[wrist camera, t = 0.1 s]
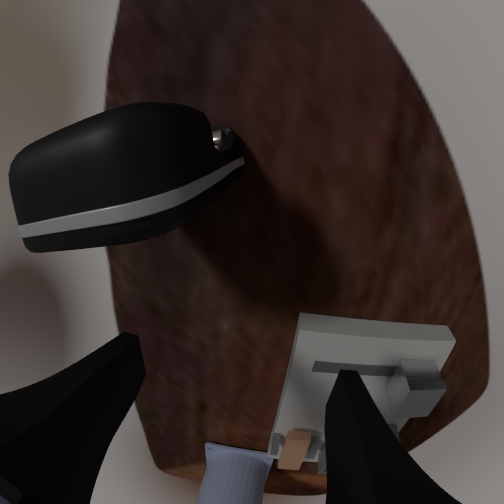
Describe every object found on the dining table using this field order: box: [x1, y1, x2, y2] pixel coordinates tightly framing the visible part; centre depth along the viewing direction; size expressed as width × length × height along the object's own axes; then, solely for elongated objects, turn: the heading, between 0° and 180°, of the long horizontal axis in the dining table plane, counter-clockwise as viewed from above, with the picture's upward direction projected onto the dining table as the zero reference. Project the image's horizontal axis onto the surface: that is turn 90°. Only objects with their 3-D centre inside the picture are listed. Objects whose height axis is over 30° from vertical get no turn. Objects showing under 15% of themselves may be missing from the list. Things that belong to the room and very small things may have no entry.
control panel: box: [267, 312, 456, 474], centre depth 21 cm, size 18×12×4 cm, turn 175°
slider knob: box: [386, 360, 447, 418], centre depth 17 cm, size 3×3×3 cm
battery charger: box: [9, 102, 244, 253], centre depth 12 cm, size 7×4×11 cm, turn 97°
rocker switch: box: [278, 430, 311, 470], centre depth 22 cm, size 5×2×1 cm, turn 175°
